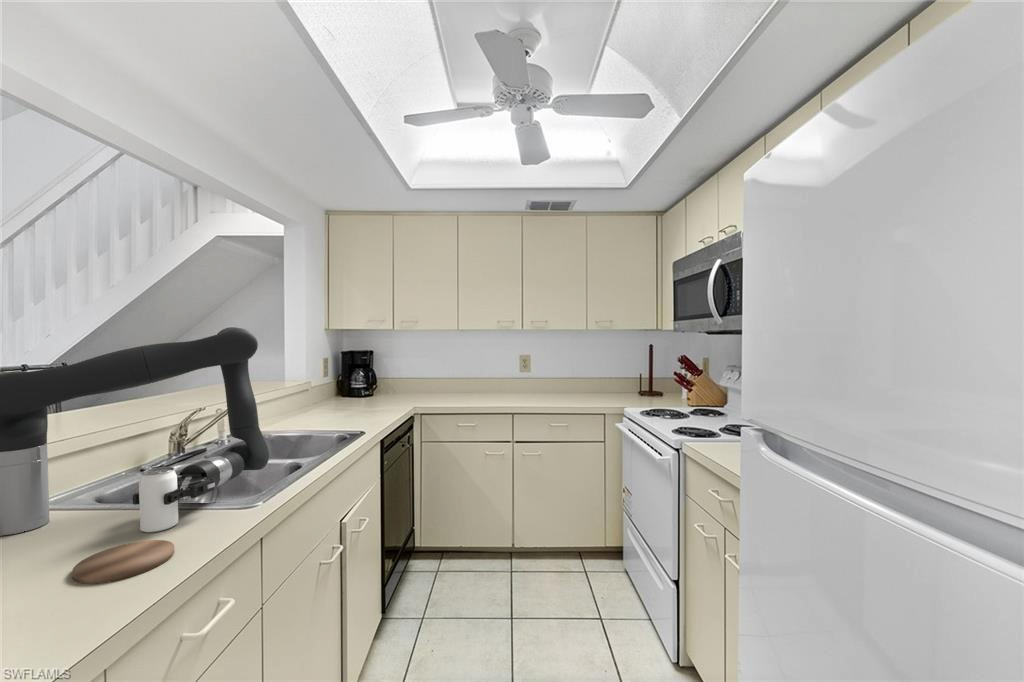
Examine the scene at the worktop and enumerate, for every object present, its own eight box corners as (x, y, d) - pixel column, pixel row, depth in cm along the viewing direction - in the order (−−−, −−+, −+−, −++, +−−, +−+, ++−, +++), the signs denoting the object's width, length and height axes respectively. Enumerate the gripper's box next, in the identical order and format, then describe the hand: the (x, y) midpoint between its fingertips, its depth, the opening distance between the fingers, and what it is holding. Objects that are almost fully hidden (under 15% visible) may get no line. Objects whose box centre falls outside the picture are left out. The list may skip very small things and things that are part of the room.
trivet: (50, 578, 79) (50, 572, 79) (134, 542, 92) (134, 537, 92) (116, 587, 76) (116, 581, 76) (193, 548, 89) (192, 543, 89)
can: (157, 534, 96) (156, 475, 96) (132, 532, 97) (130, 474, 97) (186, 521, 102) (184, 466, 102) (161, 520, 103) (159, 465, 103)
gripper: (177, 459, 114) (115, 481, 97) (234, 459, 113) (183, 481, 97) (178, 490, 114) (116, 517, 97) (235, 490, 114) (184, 518, 97)
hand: (150, 499), depth 97 cm, fingers closed on can, 6 cm apart
